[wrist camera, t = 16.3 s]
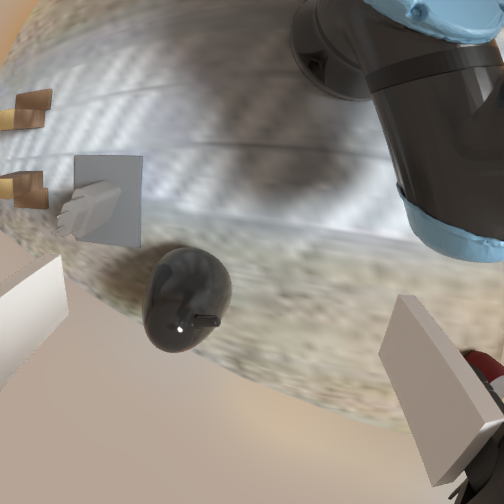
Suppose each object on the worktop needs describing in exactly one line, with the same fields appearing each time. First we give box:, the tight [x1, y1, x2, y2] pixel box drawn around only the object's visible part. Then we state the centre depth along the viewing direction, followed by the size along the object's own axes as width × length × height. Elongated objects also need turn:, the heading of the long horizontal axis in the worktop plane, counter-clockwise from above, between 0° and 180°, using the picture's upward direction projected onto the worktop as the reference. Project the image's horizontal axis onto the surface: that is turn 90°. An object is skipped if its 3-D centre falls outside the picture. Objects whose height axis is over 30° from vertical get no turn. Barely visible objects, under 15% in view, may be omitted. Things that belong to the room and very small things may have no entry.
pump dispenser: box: [142, 247, 232, 353], centre depth 35 cm, size 10×10×15 cm
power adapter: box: [52, 180, 121, 238], centre depth 33 cm, size 3×5×12 cm, turn 149°
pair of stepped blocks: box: [0, 89, 52, 209], centre depth 34 cm, size 18×7×8 cm, turn 174°
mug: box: [464, 351, 504, 400], centre depth 42 cm, size 11×8×10 cm
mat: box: [75, 155, 143, 248], centre depth 39 cm, size 12×10×1 cm
